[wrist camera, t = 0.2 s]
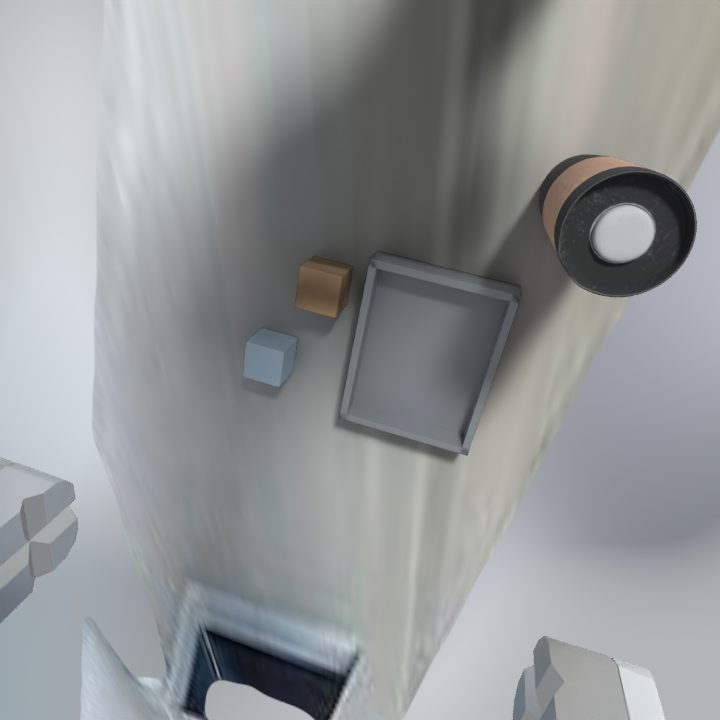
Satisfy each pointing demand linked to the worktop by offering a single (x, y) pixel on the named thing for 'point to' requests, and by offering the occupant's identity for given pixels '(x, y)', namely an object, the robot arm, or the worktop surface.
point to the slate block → (269, 357)
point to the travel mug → (616, 224)
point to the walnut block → (323, 286)
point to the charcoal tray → (426, 350)
